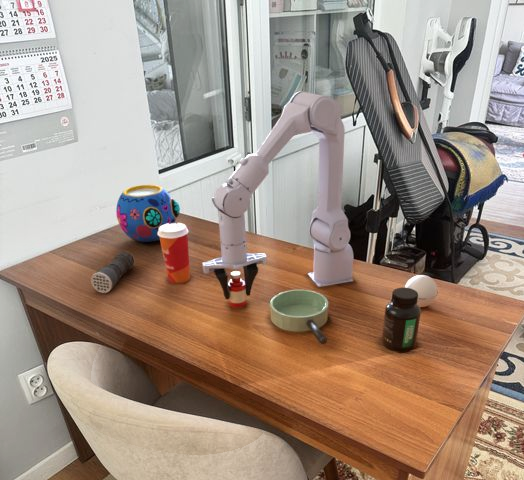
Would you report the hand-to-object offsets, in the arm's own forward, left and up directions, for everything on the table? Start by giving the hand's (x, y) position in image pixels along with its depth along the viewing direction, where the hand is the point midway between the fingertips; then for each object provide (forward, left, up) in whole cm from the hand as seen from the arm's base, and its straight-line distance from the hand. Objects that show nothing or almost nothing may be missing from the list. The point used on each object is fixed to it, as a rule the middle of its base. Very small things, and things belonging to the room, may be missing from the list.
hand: (237, 295), depth 122 cm
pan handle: (-11, +21, -1) cm, 24 cm away
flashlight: (+27, -24, -3) cm, 36 cm away
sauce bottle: (0, 0, -2) cm, 2 cm away
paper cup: (+11, -19, -3) cm, 22 cm away
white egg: (-40, +16, -3) cm, 43 cm away
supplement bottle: (-27, +28, -3) cm, 39 cm away
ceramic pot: (+15, -50, -3) cm, 52 cm away
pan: (-11, +11, -2) cm, 16 cm away
